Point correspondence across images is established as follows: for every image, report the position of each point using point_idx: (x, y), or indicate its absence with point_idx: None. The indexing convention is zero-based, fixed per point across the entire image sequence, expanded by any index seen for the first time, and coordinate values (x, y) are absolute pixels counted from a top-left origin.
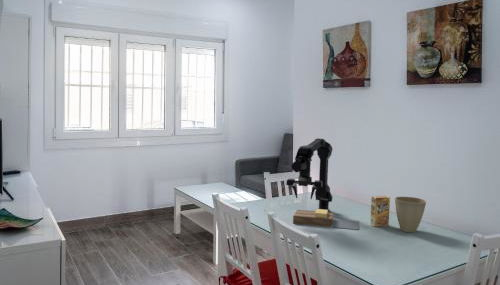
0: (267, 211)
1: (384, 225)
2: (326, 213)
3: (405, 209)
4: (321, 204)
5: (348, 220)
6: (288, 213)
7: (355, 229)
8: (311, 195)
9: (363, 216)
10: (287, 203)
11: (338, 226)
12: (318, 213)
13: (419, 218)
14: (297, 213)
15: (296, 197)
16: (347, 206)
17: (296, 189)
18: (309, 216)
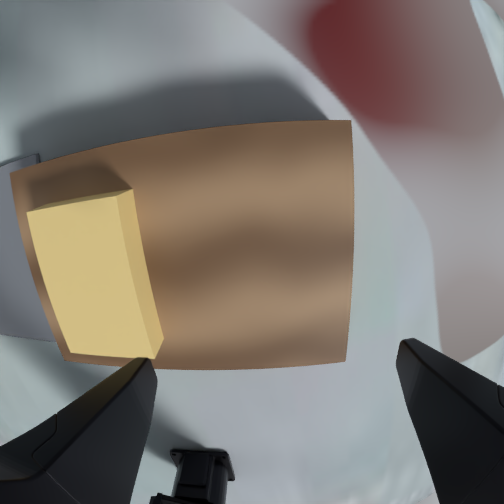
0: (495, 346)
1: None
2: (30, 226)
3: None
4: (201, 482)
5: (24, 333)
6: (392, 370)
7: None
8: (102, 396)
9: (32, 411)
10: (384, 483)
11: None
12: (85, 199)
13: None
14: (327, 234)
15: (415, 342)
16: (144, 501)
17: (483, 467)
18: (181, 166)
